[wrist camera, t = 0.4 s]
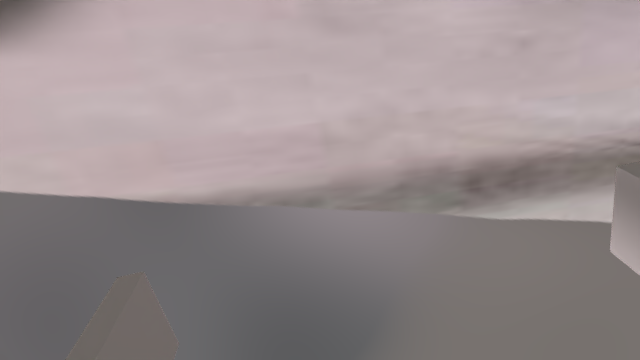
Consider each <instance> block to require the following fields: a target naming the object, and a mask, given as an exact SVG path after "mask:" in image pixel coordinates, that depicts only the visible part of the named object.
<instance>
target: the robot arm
mask: <svg viewBox="0 0 640 360" xmlns="http://www.w3.org/2000/svg"><path fill="white" fill-rule="evenodd" d="M610 251H611V252H612V253H613V254H614V255H615V256H617V257H618V258H619V259H620V260H621V261H623V262H624V263H625V264H626V265H628V266H629V267H630V268H631V269H633V270H634V271H635V272H636V273H638V274H639V275H640V161H639V162H634V163H630V164H625V165H621V166H617V169H616V182H615V194H614V207H613V219H612V232H611V245H610ZM178 345H179V343H178V341H177V339H176V337H175V335H174V332H173V331H172V328H171V326H170V324H169V322H168V320H167V318H166V316H165V314H164V312H163V310H162V308H161V306H160V304H159V302H158V300H157V298H156V296H155V294H154V292H153V290H152V287H151V286H150V284H149V281H148V279H147V277H146V275H145V273H144V272H139V273H135V274H130V275H126V276H121V277H117V279H116V280H115V282H114V283H113V285H112V287H111V288H110V290H109V292H108V293H107V295H106V296H105V298H104V299H103V301H102V302H101V304H100V306H99V307H98V309H97V310H96V312H95V314H94V315H93V317H92V318H91V320H90V322H89V323H88V325H87V326H86V328H85V330H84V331H83V333H82V334H81V336H80V337H79V339H78V341H77V342H76V344H75V345H74V347H73V348H72V350H71V352H70V353H69V355H68V356H67V358H66V360H174V357H175V354H176V351H177V348H178Z"/></svg>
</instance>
